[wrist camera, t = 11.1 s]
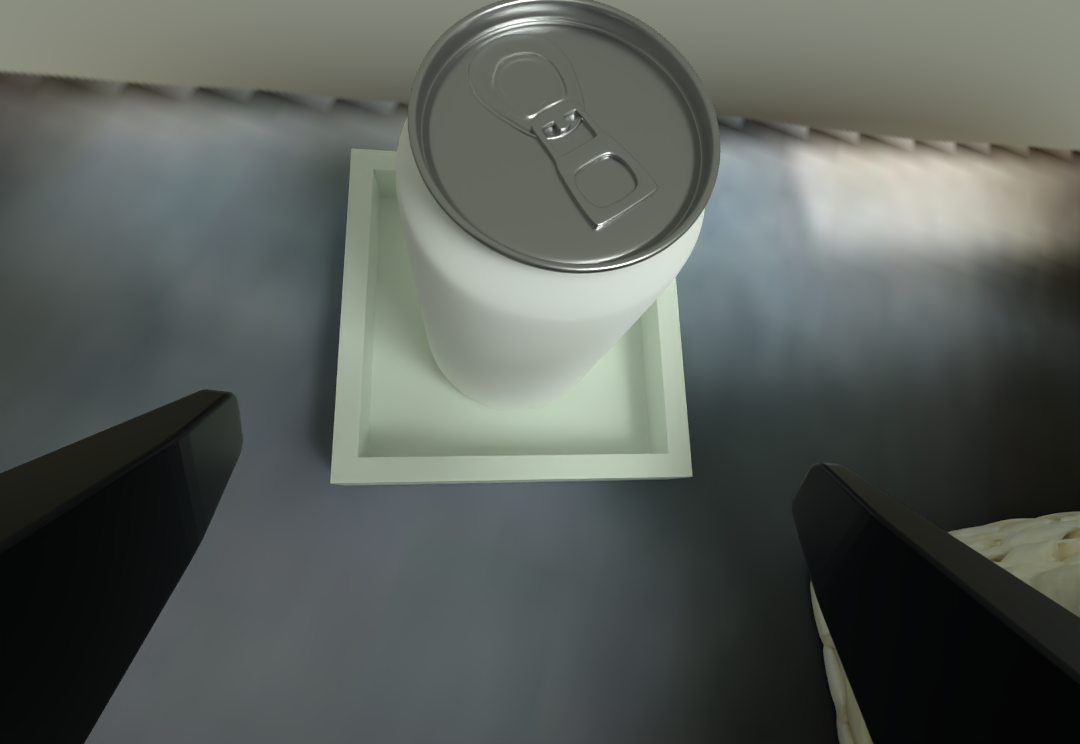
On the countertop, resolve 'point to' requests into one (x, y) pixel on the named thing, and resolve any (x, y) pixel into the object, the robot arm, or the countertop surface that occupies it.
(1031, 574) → the storage basket
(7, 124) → the countertop surface
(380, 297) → the tray
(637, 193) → the can
